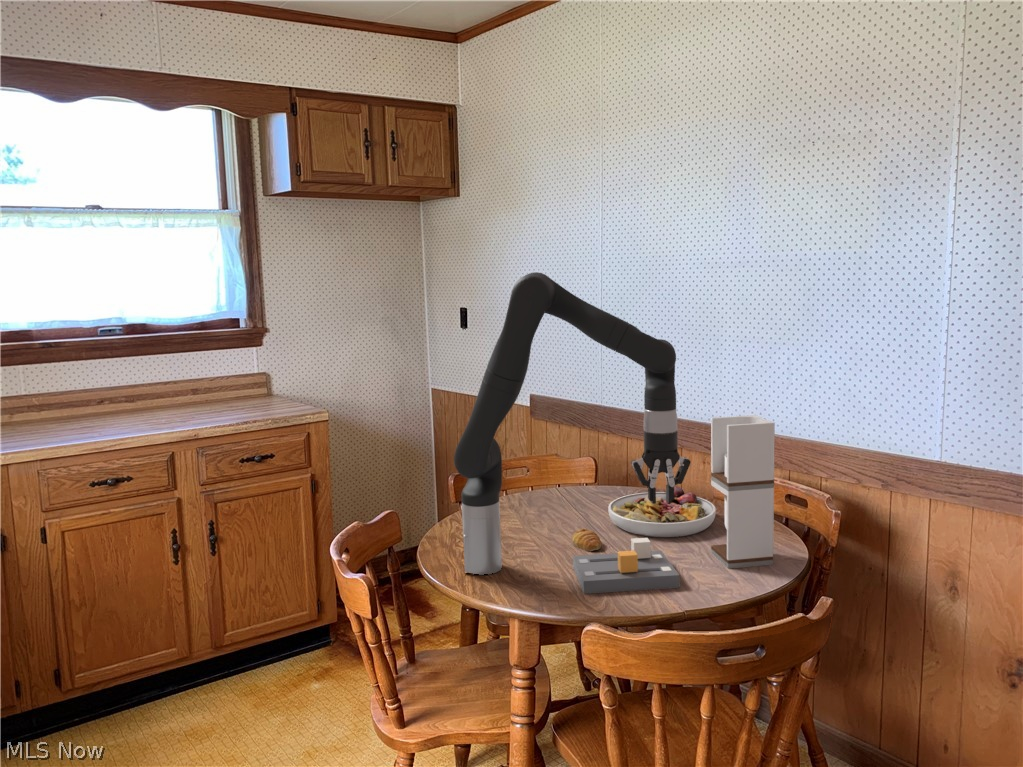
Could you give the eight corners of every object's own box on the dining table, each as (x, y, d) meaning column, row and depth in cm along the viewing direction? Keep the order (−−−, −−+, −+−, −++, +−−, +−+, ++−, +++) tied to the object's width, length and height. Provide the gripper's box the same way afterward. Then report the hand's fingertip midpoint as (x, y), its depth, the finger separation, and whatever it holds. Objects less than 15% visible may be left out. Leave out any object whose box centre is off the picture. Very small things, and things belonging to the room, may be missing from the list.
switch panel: (583, 593, 178) (583, 580, 178) (573, 567, 194) (572, 555, 194) (679, 587, 180) (679, 574, 179) (661, 562, 195) (661, 550, 195)
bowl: (697, 547, 205) (697, 518, 204) (591, 532, 220) (591, 505, 219) (727, 515, 231) (727, 489, 230) (631, 503, 246) (631, 478, 245)
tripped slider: (620, 572, 181) (620, 556, 180) (617, 567, 184) (617, 551, 183) (637, 571, 181) (637, 555, 180) (634, 566, 184) (634, 550, 183)
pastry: (608, 550, 206) (607, 536, 205) (584, 554, 203) (584, 540, 203) (591, 539, 214) (591, 526, 214) (569, 543, 212) (568, 530, 211)
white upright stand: (753, 549, 202) (754, 414, 197) (773, 564, 191) (774, 422, 186) (711, 553, 200) (711, 417, 195) (728, 568, 190) (728, 425, 185)
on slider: (634, 558, 189) (633, 542, 188) (631, 554, 192) (631, 538, 191) (650, 557, 189) (650, 541, 189) (647, 553, 192) (647, 537, 192)
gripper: (633, 433, 174) (634, 509, 176) (696, 430, 175) (696, 505, 177) (626, 426, 181) (627, 499, 184) (686, 423, 182) (686, 496, 185)
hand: (661, 501), depth 181 cm, fingers open, 3 cm apart
